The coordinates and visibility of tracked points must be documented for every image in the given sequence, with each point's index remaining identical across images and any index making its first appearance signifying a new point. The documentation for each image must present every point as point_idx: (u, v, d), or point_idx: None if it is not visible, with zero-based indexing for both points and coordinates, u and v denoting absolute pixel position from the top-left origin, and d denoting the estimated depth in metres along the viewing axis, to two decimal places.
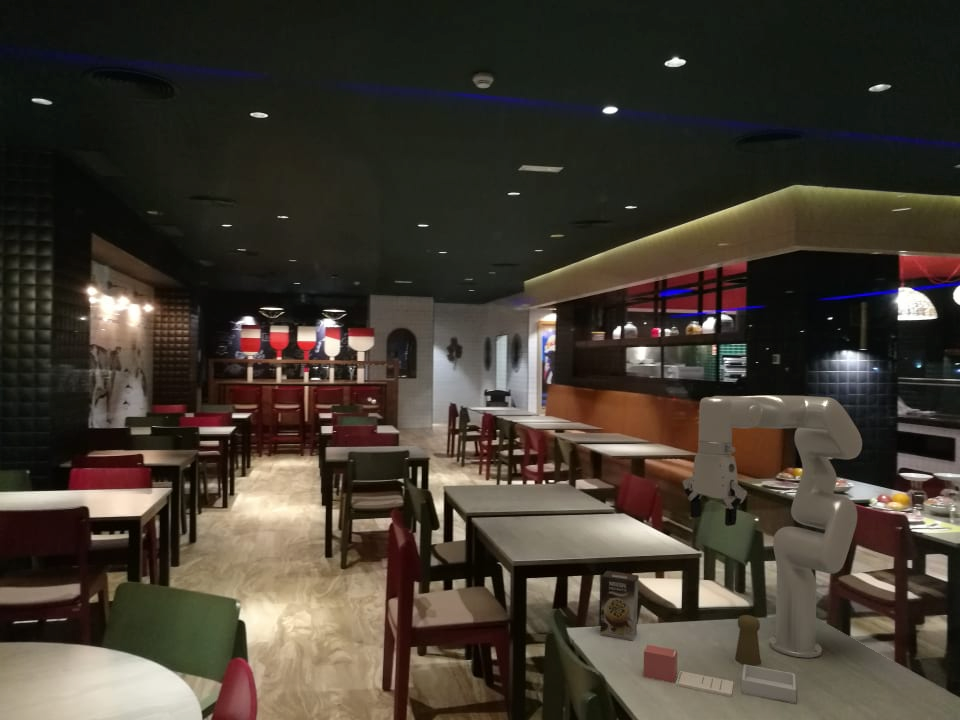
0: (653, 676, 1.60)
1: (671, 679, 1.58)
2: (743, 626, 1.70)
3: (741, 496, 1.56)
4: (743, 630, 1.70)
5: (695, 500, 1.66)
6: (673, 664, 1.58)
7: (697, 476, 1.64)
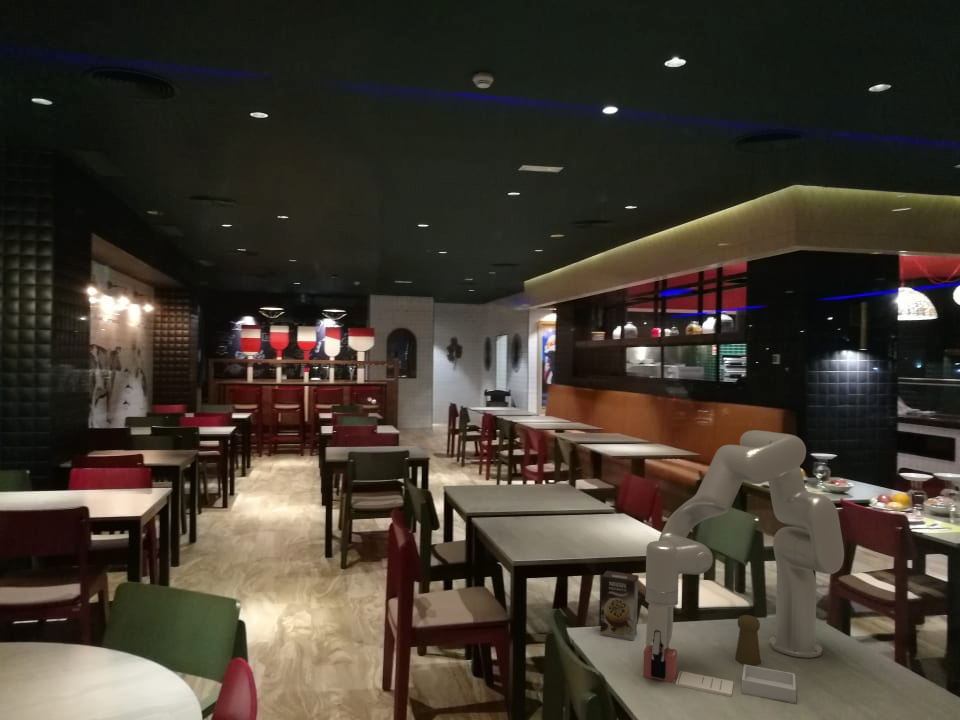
0: None
1: (671, 679, 1.58)
2: (743, 626, 1.70)
3: None
4: (743, 630, 1.70)
5: None
6: (673, 664, 1.58)
7: (669, 630, 1.58)
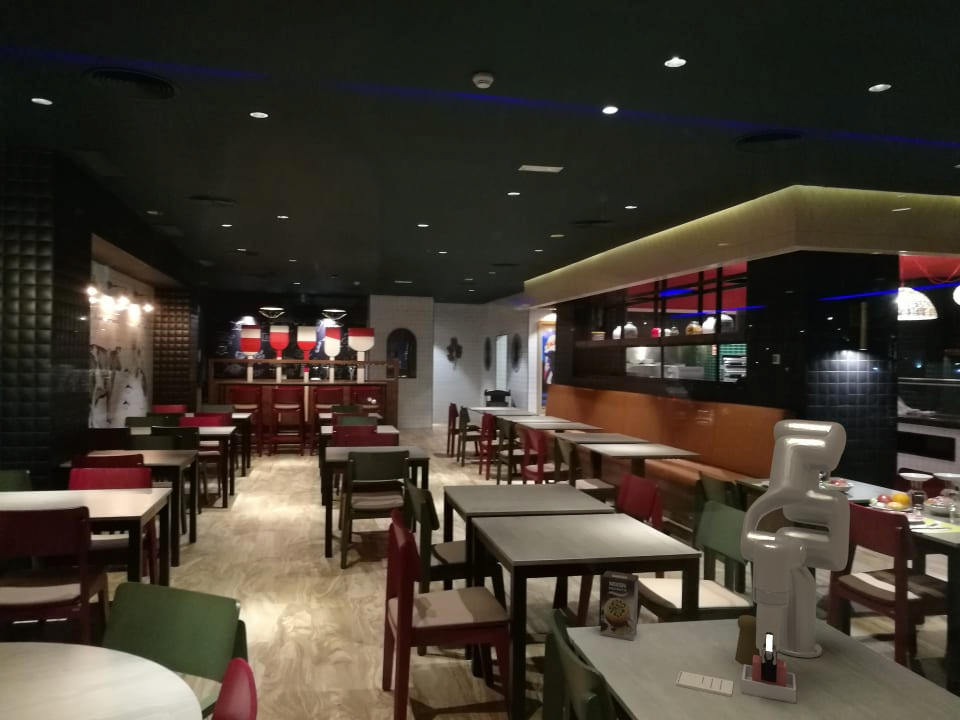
0: None
1: None
2: (743, 626, 1.70)
3: None
4: (743, 630, 1.70)
5: None
6: (785, 675, 1.52)
7: (780, 631, 1.52)
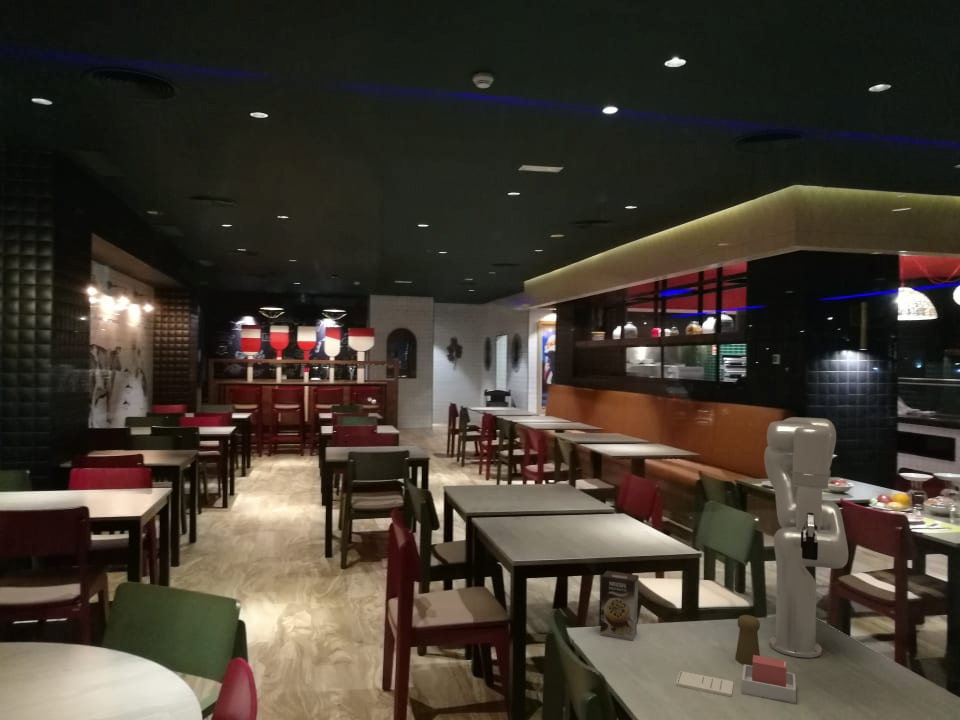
0: None
1: None
2: (742, 626, 1.70)
3: None
4: (743, 630, 1.70)
5: None
6: (785, 675, 1.52)
7: (821, 513, 1.56)
